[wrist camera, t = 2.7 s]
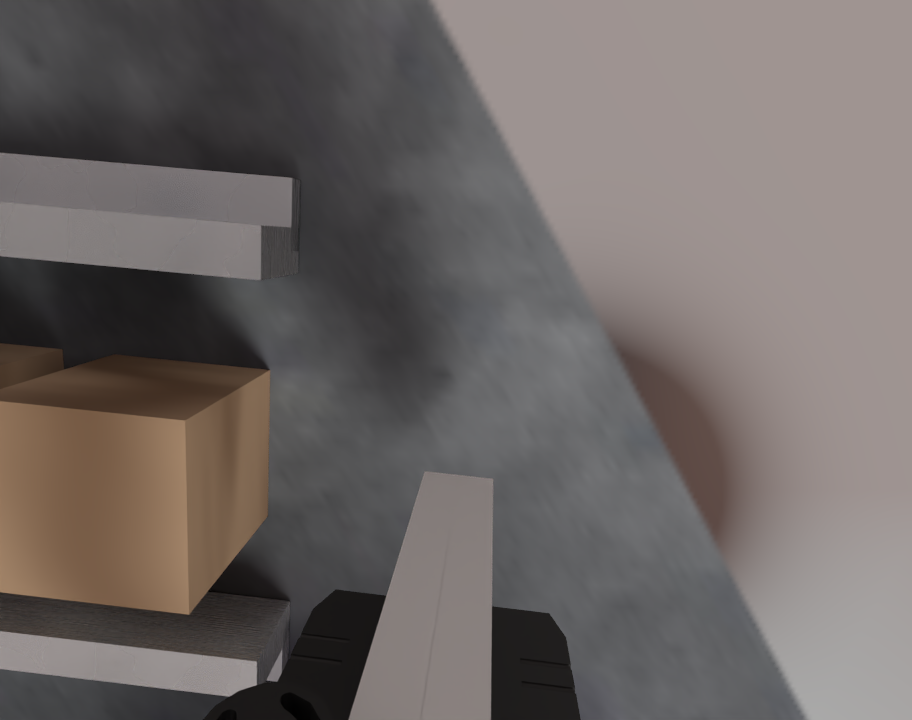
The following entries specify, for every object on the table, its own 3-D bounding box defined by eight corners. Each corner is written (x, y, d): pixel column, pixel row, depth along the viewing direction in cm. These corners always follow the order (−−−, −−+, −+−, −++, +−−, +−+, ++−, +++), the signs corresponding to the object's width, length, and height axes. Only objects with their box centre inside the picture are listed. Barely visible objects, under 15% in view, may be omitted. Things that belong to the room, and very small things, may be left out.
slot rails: (-135, 617, 18) (-232, 676, 16) (-215, 136, 15) (-353, 115, 12) (288, 667, 17) (256, 736, 15) (300, 180, 14) (262, 168, 12)
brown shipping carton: (122, 498, 17) (-9, 591, 12) (116, 353, 16) (-30, 398, 11) (269, 514, 16) (189, 614, 12) (271, 369, 16) (185, 420, 11)
